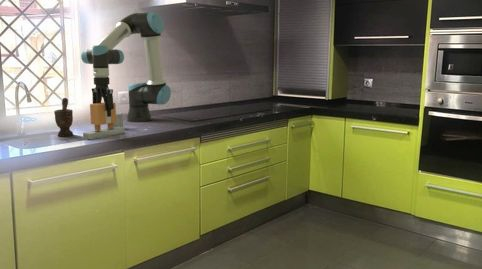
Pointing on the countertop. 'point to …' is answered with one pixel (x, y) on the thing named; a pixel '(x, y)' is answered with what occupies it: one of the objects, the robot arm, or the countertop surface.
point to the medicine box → (118, 120)
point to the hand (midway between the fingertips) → (104, 122)
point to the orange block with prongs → (101, 115)
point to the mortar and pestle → (64, 119)
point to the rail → (103, 133)
